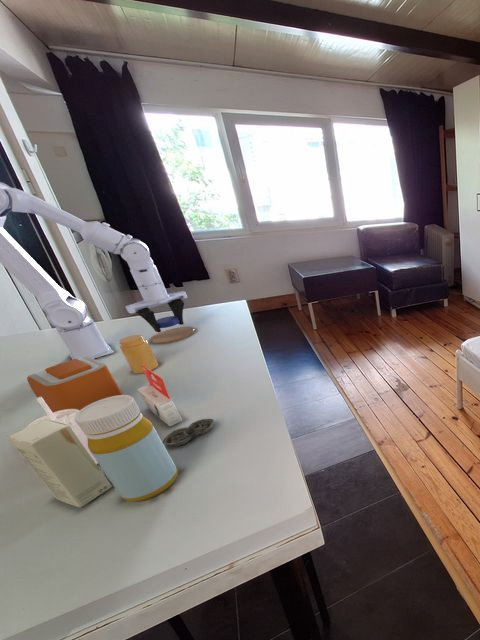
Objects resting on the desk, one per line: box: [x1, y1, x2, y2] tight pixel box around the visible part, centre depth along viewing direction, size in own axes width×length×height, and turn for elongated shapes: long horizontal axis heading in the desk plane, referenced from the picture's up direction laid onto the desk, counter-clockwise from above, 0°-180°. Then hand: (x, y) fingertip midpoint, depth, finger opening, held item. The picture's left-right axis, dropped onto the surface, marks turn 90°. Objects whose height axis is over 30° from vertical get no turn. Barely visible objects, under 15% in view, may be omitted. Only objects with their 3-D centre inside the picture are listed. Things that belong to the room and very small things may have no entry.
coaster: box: [149, 326, 196, 344], centre depth 111 cm, size 11×11×1 cm
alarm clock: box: [26, 357, 124, 413], centre depth 69 cm, size 15×8×14 cm, turn 62°
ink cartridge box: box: [137, 365, 183, 427], centre depth 71 cm, size 2×11×10 cm, turn 56°
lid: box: [156, 315, 180, 329], centre depth 109 cm, size 6×6×2 cm
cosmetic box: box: [6, 419, 113, 508], centre depth 53 cm, size 6×4×12 cm
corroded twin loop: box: [162, 418, 214, 447], centre depth 67 cm, size 5×8×1 cm, turn 140°
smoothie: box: [25, 397, 99, 465], centre depth 58 cm, size 6×6×14 cm
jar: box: [118, 334, 159, 374], centre depth 90 cm, size 5×5×8 cm
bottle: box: [74, 394, 178, 502], centre depth 53 cm, size 7×7×15 cm
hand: (169, 327), depth 110 cm, fingers closed on lid, 5 cm apart
